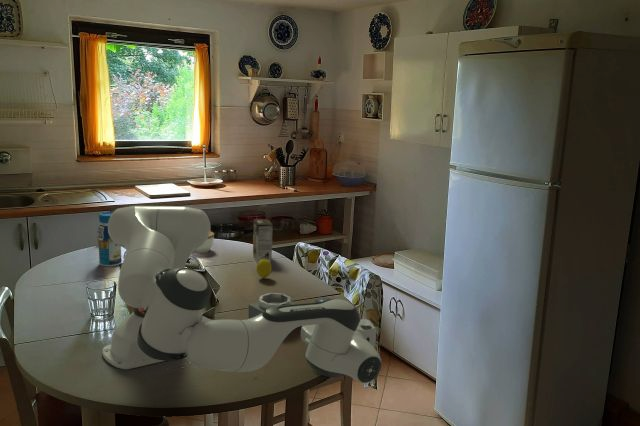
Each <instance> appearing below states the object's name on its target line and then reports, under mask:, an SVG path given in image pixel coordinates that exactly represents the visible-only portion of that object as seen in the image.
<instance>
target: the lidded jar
mask: <svg viewBox="0 0 640 426" xmlns="http://www.w3.org/2000/svg"><path fill="white" fill-rule="evenodd" d="M214 237H215V233H214V232H213V231H212V230H210V234H209V236H208V238H207V240H206V241H205V242H204V244H202V245H201V246H200V247H198V248H197V249H196V250H195V251H194V253H197V254H206V253H208V252H209V251H210V250H211V249H212V247H213V246H214V241H215V239H214Z"/></svg>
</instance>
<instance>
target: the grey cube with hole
mask: <svg viewBox="0 0 640 426" xmlns="http://www.w3.org/2000/svg"><path fill="white" fill-rule="evenodd" d="M294 304H298V303H297V302H295V301H292V300H291V296H289V295H287V294H285V293H283V292H282V293H280V292H269V293H265V294H262V295H260V296H259V299H258V301H256V302H253V303H249V304H248V319H250V318H253V317H256V316H258V315H260V314H261V313H263V312H264V311H265V310H266V309H268V308H271V307H276V306H283V305H294Z"/></svg>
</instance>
